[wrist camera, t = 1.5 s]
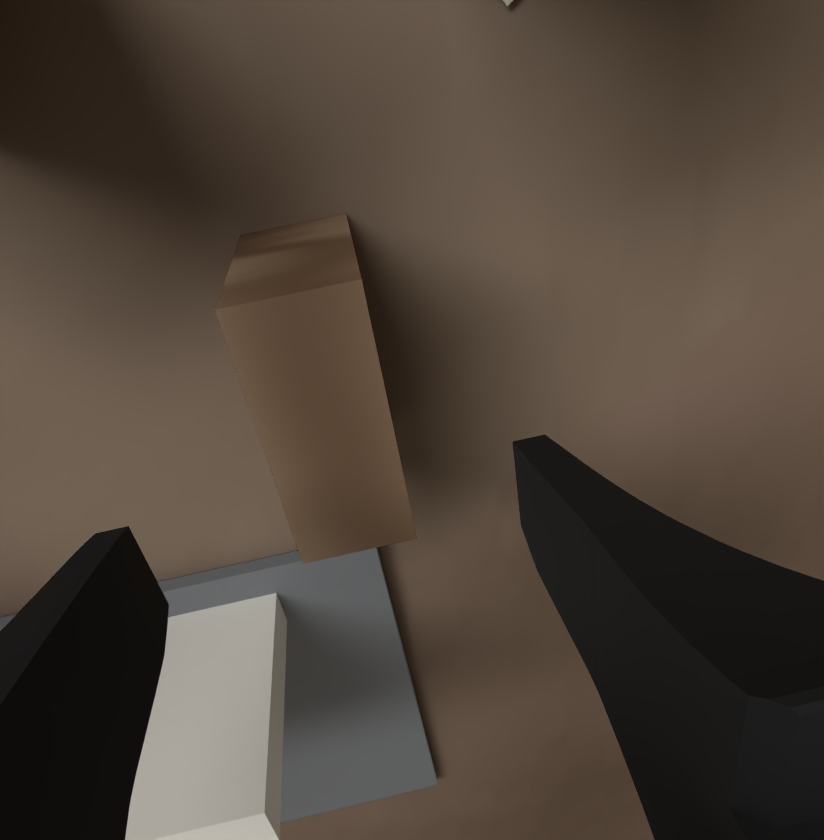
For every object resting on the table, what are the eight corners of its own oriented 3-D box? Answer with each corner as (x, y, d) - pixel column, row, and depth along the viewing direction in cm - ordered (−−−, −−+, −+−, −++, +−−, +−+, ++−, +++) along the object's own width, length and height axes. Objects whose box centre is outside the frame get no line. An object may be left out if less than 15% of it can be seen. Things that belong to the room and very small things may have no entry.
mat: (118, 849, 32) (115, 862, 31) (-59, 630, 23) (-67, 643, 23) (435, 773, 32) (438, 785, 32) (373, 533, 24) (375, 544, 23)
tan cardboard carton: (303, 440, 22) (302, 563, 16) (240, 234, 18) (214, 309, 13) (390, 421, 22) (417, 538, 17) (345, 213, 18) (361, 279, 13)
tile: (81, 670, 24) (-7, 914, 18) (61, 641, 24) (-39, 885, 17) (288, 622, 25) (281, 843, 18) (276, 592, 24) (264, 812, 17)
